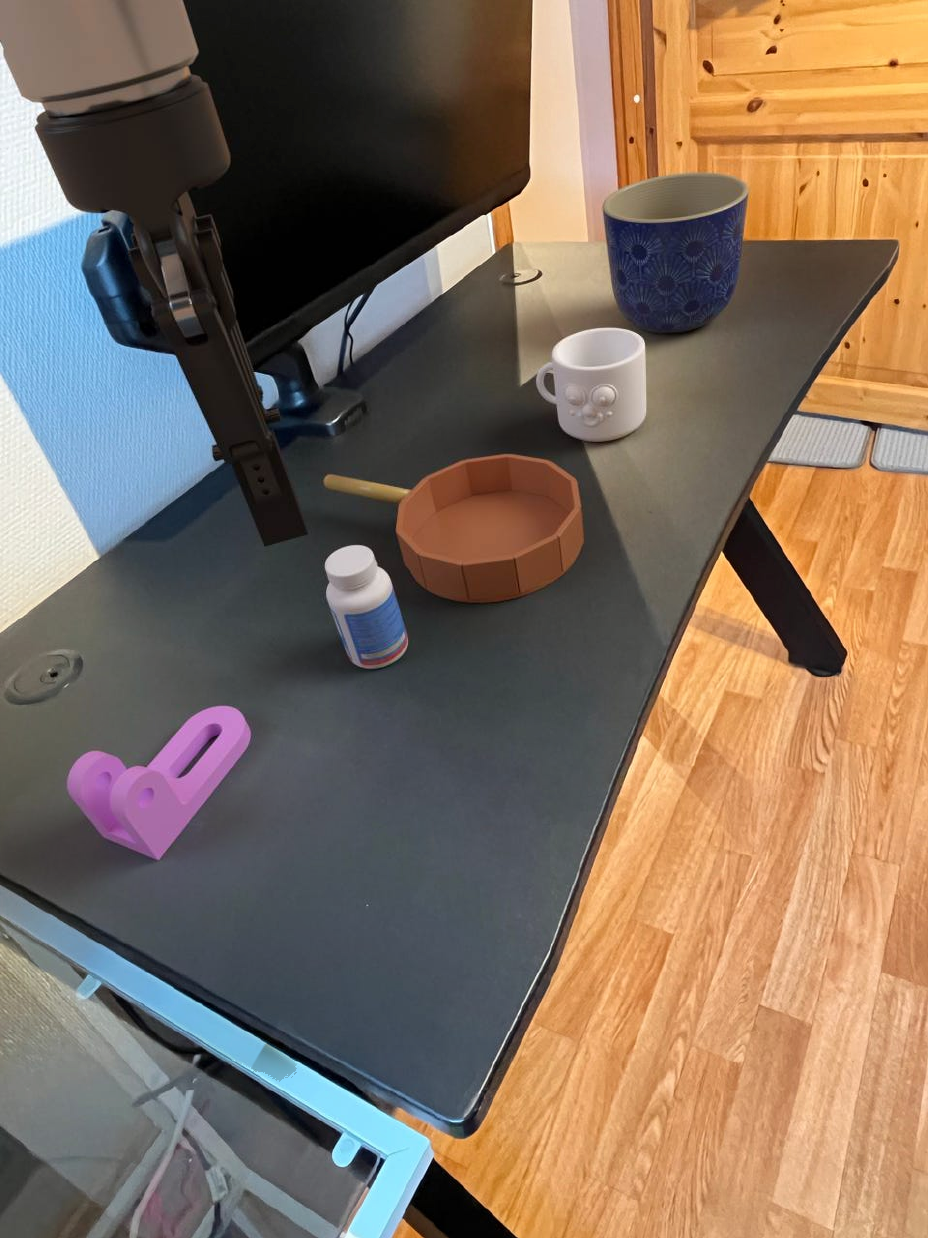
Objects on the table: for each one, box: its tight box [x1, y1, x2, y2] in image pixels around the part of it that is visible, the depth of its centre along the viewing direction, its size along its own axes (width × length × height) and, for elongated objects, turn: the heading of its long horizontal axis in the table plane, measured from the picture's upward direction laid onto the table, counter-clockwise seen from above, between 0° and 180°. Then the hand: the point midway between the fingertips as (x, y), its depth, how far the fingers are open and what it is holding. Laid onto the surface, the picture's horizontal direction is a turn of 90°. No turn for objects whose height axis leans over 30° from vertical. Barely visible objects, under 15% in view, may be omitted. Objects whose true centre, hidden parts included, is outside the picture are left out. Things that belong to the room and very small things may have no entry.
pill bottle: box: [324, 544, 409, 670], centre depth 69 cm, size 6×5×10 cm
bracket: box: [66, 705, 252, 861], centre depth 63 cm, size 13×6×7 cm, turn 154°
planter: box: [602, 172, 750, 334], centre depth 105 cm, size 17×17×15 cm
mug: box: [535, 327, 647, 443], centre depth 91 cm, size 12×10×9 cm
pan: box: [323, 453, 585, 604], centre depth 82 cm, size 28×17×5 cm, turn 59°
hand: (285, 533), depth 51 cm, fingers closed
